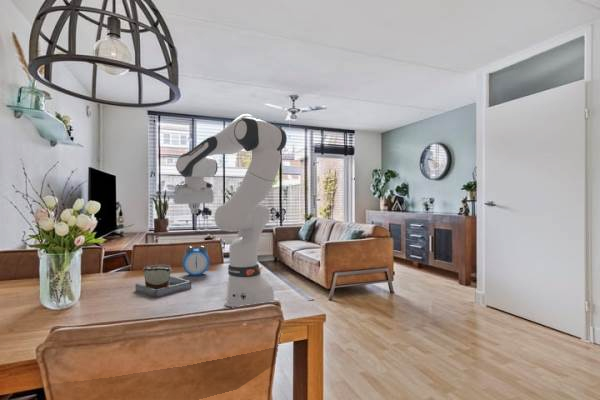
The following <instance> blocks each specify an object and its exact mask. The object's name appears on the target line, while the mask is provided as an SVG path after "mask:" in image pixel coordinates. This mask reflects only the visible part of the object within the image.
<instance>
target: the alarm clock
mask: <svg viewBox="0 0 600 400" xmlns="http://www.w3.org/2000/svg"><path fill="white" fill-rule="evenodd" d="M184 254H185V255H184V257H183V261H182V267H183V270H184V272H185V273H187V275H189V276H188V277H190V276H193V277H194V276H200V275H202V276H204V273H205V272H206V271H207V270H208V269H209V266H210V258H209V257H210V256H209V254H208V248H207V246H205V245H200V246H198V247H197V246H195V248H194V247H193V246H192V245H190V246H186V248H185V249H184Z"/></svg>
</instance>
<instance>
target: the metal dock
mask: <svg viewBox="0 0 600 400" xmlns="http://www.w3.org/2000/svg"><path fill="white" fill-rule="evenodd" d="M169 284H172V285H169V286H168V287H164V288H160V289H153V288H150V287H147V286H146V285H145V284H141V283H135V292H137V293H141V294H144V295H146V296H149V297H152V298H155V299H157V298H160V297H163V296H166V295H170V294H175V293H177V292H181V291H185V290H189V289H191V288H192V281H191V280H187V279H184V278H180V277H178V276H174V275H170V277H169Z"/></svg>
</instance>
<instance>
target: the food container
mask: <svg viewBox="0 0 600 400" xmlns="http://www.w3.org/2000/svg"><path fill="white" fill-rule="evenodd" d="M172 270H173V269H172V267H171V265H168V264H152V265H146V266H143V269H142V273H143V276H144V286H147V287H150V288H153V289H160V288H164V287H168V286H170V282H169V277H170V276H171V272H172Z"/></svg>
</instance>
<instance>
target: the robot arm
mask: <svg viewBox="0 0 600 400" xmlns="http://www.w3.org/2000/svg"><path fill="white" fill-rule="evenodd" d="M287 141H288V140H287V134H286V131H285V130H284V129H283V128H281V127H279V126H278V125H273V124H272V123H270V122H268V121H265V120H263V119H262V120H261V119H257V118H255V117H254V116H253V115H252V114H248V113H246V114H245V113H244V114H241V115H240V116H238V117H237V118H235V119H234V120H232V122H230V123H229V124H228V125H227V126H226V127H224V128H223V129H222V130H221V131H219V132H218V133H216V134H214V135H212V136H210V137H207V138H205V139H204V140H203V141H201V142H200V143H198V144H197V145H196V146H195V147H194V148H192V149H191V150H188V151H187V152H185V153H183V154H181V155H180V156H179V157H178V158H177V160H176V163H175V164H176V165H175V168H176V170H177V172H178V173H179V174H180V175H181V176H182V177H183V178H184V183H178V184H176V185H175V186H174V194H173V203H174V204H175V205H188V208H189V210H190V214H198V213H199V209H200V207H201V204H213V203H214V200H215V198H214V195H215V194H214V189H213V188H214V186H213V183H210V182H208V181H207V180H205V178H212V177H214V176H215V175H216V174H217V172H218V162H217V160H216V159H215V158H214V157H211V156H214V155H216V156H217V155H234V154H237V153H240V152H241V151H242V150H244V151H246V152H251V153H252V158H251V161H250V163H249V165H248V167H247V169H246V173H245V175H244V176H243V180H242V181H241V183H240V185H239V186H238V188H237V190H236V191H235V192H234V194H233V195H232V196H231V197H230V198H229V199H227V201H226V202H224V203H223V204H221V205H219V207H217V208H216V210H215V212H214V216H213V217H214V218H213V220H214V223H215V225H216V227H217V229H219V230H220V231H224V232H237V234H236V236H235V237H236V238H235V239H234V240H232V241H231V243H230V244H229V264H228V266H227V267H228V268H227V270H228V272H227V273H228V275H229V276H228V281H227V286H226V295H225V299H224V300H225V301H224V303H223V304H224V306H226V307H231V308H235V307H234V306H240V305H247V304H255V303H261V302H270V301H280V302H281V299H280V298H279V297H275V294H274V289H273V286H272V284H270V283H269V282H268V280H267V279H266V278H265V277H264V276H263V275H262V274H261V271H262V270H263V266H262V267H260V265H259V263H258V247H259V241H260V238H261V235H262V232H263V230H264V228H265V226H266V225H267V224H268V223H269V222H270V218H271V214H270V212H271V211H270V210H269V208H268V207H267V206H266V205H265V204H263V203H261V202H263V201H265V199H266V198H267V197H268V196H269V194H270V191H271V189H272V186H273V185H274V182H275V180H276V178H277V175H278V173H279V170H280V166H281V161H282V154H281V151H282V150H284V149H285V147H286V145H287ZM194 206H195V208H194Z"/></svg>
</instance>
